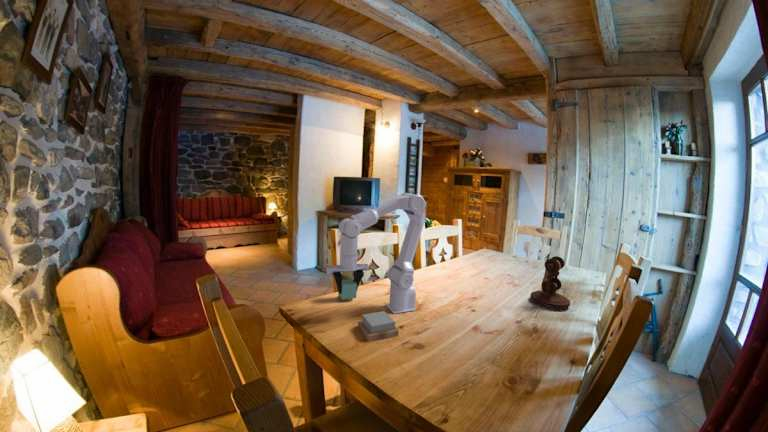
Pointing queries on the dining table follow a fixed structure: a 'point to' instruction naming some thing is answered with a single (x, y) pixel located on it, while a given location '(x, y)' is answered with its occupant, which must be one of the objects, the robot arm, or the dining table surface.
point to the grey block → (378, 322)
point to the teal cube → (348, 289)
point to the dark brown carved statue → (551, 285)
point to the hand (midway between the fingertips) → (347, 291)
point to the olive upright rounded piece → (345, 277)
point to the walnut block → (376, 335)
